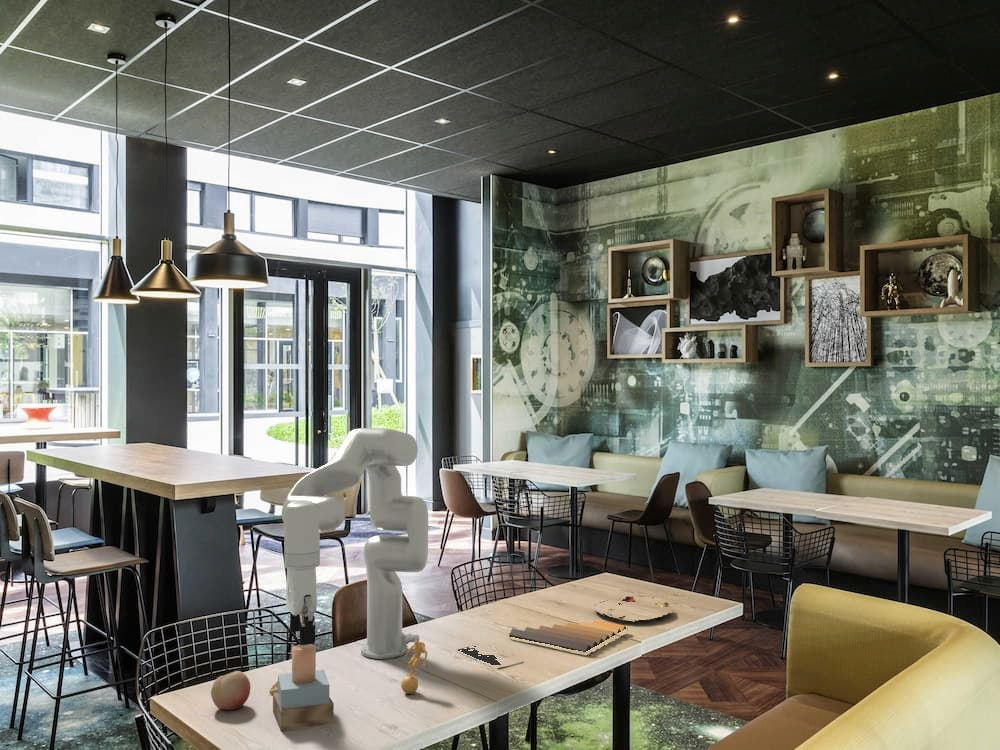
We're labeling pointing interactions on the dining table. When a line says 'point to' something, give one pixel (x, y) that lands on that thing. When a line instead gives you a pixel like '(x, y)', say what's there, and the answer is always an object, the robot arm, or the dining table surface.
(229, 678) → the fruit
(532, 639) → the pan flute
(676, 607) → the dining table surface
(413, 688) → the figurine
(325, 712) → the bottom block
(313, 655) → the terracotta cylinder
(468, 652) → the cell phone
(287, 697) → the top block
